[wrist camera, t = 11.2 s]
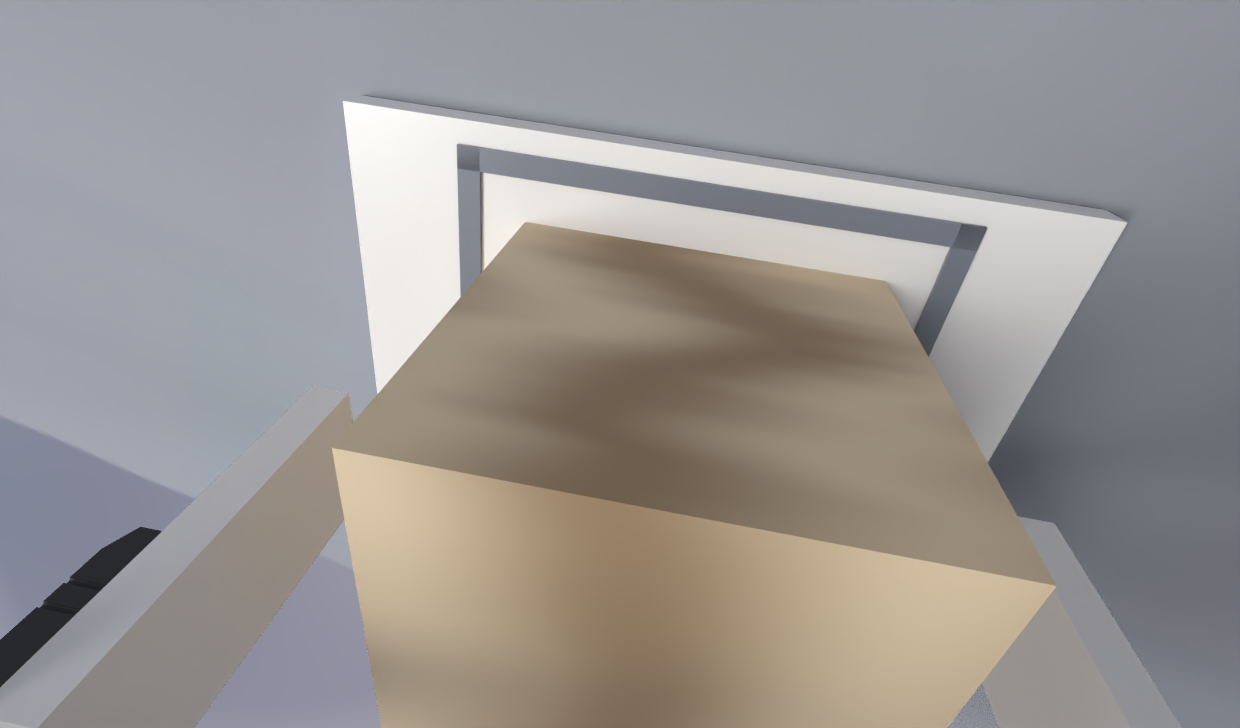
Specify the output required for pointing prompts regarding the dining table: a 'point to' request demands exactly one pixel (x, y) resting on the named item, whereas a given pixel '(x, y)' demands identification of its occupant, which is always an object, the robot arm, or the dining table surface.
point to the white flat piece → (718, 234)
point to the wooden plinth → (676, 504)
